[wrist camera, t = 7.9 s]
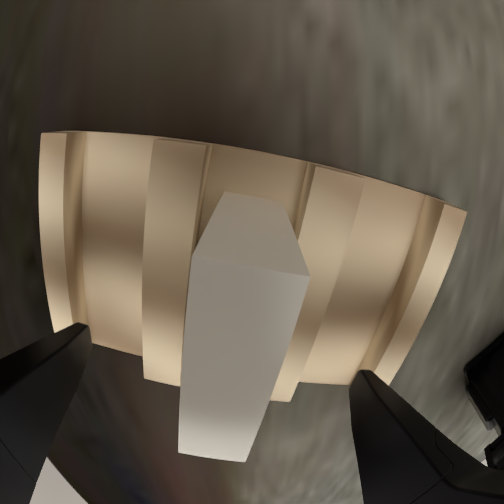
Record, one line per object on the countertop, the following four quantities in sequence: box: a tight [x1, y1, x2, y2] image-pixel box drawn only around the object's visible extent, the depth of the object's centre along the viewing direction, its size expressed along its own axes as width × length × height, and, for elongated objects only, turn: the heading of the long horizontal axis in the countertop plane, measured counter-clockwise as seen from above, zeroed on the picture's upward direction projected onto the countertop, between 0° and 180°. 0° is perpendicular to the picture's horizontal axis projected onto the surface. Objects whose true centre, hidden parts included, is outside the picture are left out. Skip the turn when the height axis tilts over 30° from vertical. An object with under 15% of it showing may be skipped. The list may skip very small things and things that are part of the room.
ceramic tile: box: [178, 191, 311, 462], centre depth 11 cm, size 2×8×7 cm, turn 169°
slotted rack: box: [39, 131, 467, 402], centre depth 14 cm, size 12×19×2 cm, turn 79°
